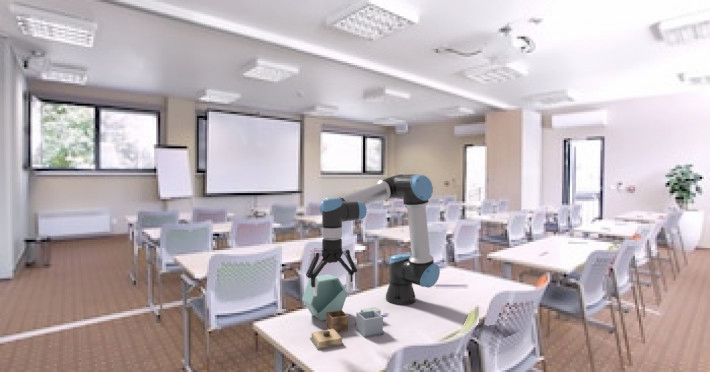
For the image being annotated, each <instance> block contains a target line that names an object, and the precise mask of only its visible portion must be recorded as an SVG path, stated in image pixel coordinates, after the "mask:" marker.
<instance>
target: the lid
mask: <svg viewBox="0 0 710 372" xmlns="http://www.w3.org/2000/svg"><path fill="white" fill-rule="evenodd" d="M311 337H312V339H313V341H314V342H315V343H316V345H317V346H318V348H323V347H328V346H333V345H339V344H342V343H343V337H342V336H341V335H340V334H339V332H336V331H335V330H334V329H329V330H328V329H324V330H318V331H312V332H311Z"/></svg>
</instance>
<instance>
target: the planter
mask: <svg viewBox="0 0 710 372" xmlns="http://www.w3.org/2000/svg"><path fill="white" fill-rule="evenodd" d="M316 278H317V296H316V297H315V296H314V295H313V287H312V286H311V278H308V282H307V285H306V288H305V290H304V293H303V295H302V299H301V301H302V302H303V304H304V305H305V307H306V309H307V310H308V312H309V313H310V314H311V316H313V317H315V318H316V319H318V320H319V321H326V312H332V311H339V310H342V311H343V309H344V304H345V302H346V299H347V296H348V291H347V290H346V288H345V287H344V285H343V283H342V282H341V280H340V279H339V277H337V276H335V275H332V274H329V273H327V274H321V275H317V277H316Z"/></svg>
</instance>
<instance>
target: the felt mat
mask: <svg viewBox="0 0 710 372" xmlns="http://www.w3.org/2000/svg"><path fill="white" fill-rule="evenodd" d="M309 340H310V341H311V342H312V344H313V345H314V347H315V348H316V349H317V350H318V351H320V350H325V349H332V348H336V347H337V348H338V347H341V346H342V347H343V346H344V343H343V342H342V344H339V345H333V346H328V347H323V348H318V346H317V345H316V343H315V342H314V341H313V339H312V336H311V337H309Z"/></svg>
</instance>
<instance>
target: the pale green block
mask: <svg viewBox="0 0 710 372" xmlns="http://www.w3.org/2000/svg"><path fill="white" fill-rule="evenodd" d="M371 310H374V311H376V312H377V313H378V314H380V315H381V312H382V311H381V309H379V308H378V307H375V306H372V307H371V306H370V307H368V308H363V309H360V312H365V311H371ZM381 316H382V315H381Z"/></svg>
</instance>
